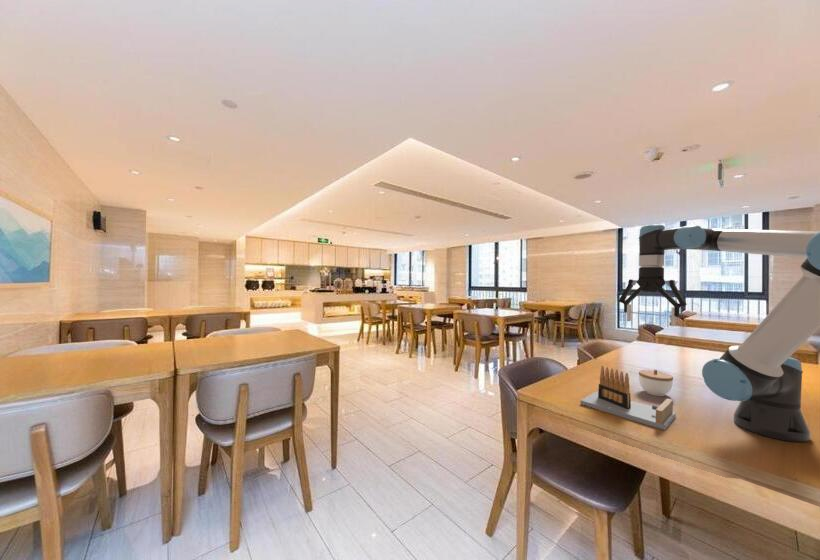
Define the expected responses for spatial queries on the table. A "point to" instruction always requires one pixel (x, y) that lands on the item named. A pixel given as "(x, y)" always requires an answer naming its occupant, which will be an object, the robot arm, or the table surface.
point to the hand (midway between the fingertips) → (650, 323)
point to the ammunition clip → (614, 388)
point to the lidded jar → (655, 382)
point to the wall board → (636, 411)
